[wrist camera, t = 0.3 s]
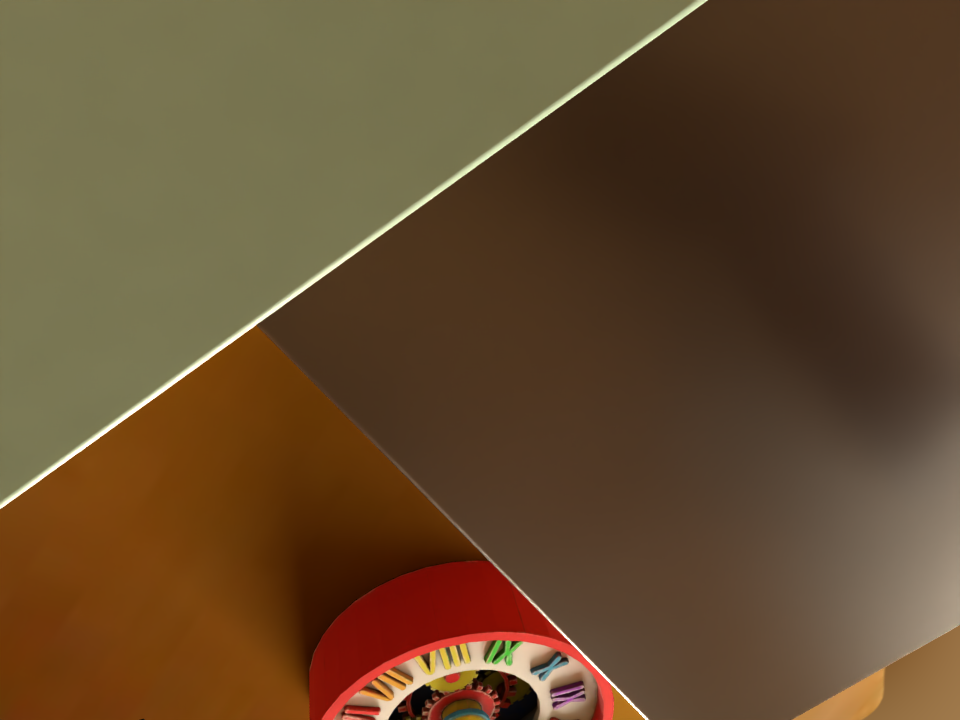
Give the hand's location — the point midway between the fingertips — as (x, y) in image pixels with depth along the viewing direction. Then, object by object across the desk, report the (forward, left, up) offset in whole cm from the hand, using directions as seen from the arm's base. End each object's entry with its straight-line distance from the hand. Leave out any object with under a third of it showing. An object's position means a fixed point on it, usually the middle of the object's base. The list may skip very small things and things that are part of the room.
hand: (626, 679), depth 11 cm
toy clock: (+32, +18, -29) cm, 47 cm away
